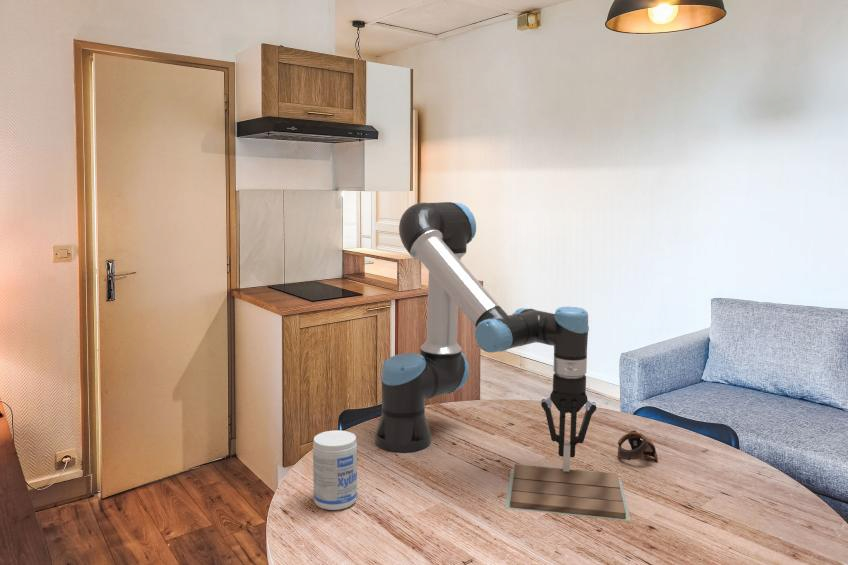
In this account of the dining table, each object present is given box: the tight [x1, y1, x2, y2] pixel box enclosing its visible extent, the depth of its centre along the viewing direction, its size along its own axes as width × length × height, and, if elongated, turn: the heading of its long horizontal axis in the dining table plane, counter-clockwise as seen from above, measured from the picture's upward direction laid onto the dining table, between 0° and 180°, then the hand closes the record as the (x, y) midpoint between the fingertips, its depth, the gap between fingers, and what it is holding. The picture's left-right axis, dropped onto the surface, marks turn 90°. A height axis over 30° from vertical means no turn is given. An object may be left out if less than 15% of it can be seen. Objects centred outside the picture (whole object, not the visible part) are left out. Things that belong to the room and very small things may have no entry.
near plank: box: [512, 479, 623, 502], centre depth 145 cm, size 24×6×1 cm, turn 79°
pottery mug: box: [617, 429, 659, 463], centre depth 165 cm, size 12×10×8 cm
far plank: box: [513, 464, 620, 489], centre depth 151 cm, size 24×6×1 cm, turn 79°
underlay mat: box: [505, 469, 632, 522], centre depth 146 cm, size 26×20×1 cm
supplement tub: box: [312, 429, 358, 511], centre depth 141 cm, size 10×10×15 cm
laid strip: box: [510, 491, 626, 518], centre depth 139 cm, size 24×5×1 cm, turn 79°
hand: (566, 468), depth 154 cm, fingers closed
